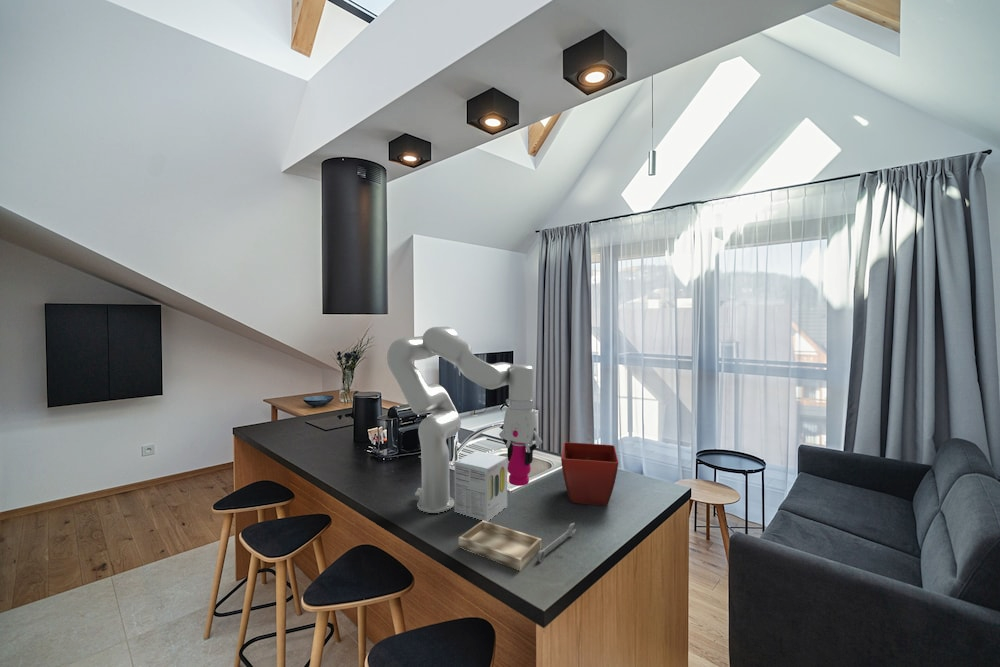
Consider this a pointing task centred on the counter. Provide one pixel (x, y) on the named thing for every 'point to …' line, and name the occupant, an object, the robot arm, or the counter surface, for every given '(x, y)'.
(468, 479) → the supplement box
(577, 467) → the plant pot
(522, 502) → the counter surface
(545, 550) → the combination wrench
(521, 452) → the pepper mill
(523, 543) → the wooden tray
